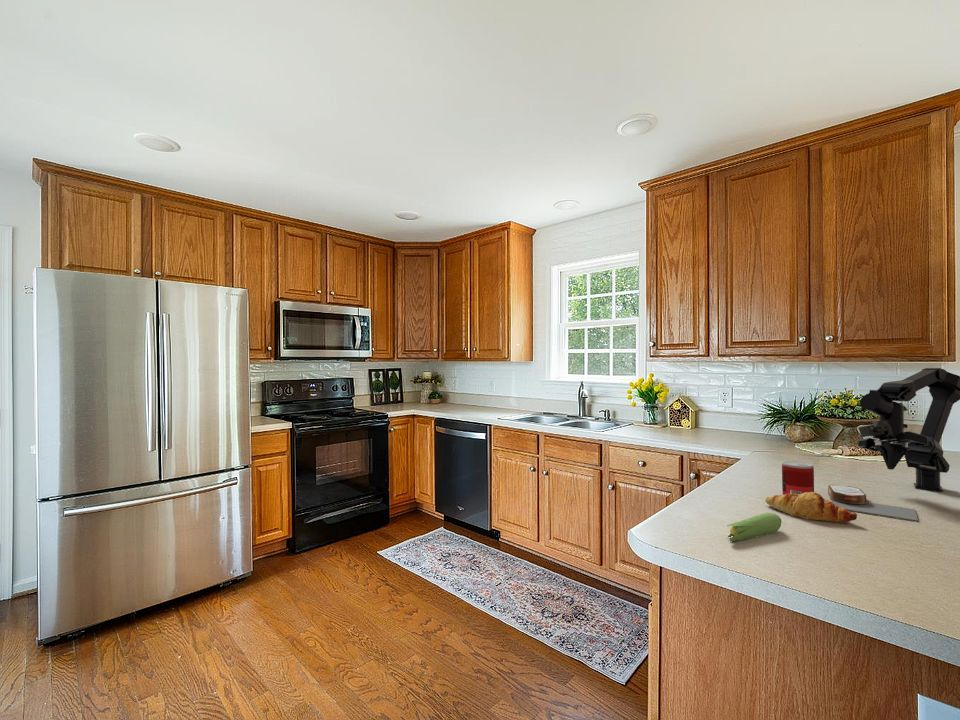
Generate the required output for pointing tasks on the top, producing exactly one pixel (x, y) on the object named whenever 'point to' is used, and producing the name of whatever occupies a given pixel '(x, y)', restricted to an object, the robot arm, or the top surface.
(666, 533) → the top surface
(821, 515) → the croissant
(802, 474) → the canned food
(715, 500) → the top surface
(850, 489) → the tin
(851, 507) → the mat
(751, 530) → the edible corn
